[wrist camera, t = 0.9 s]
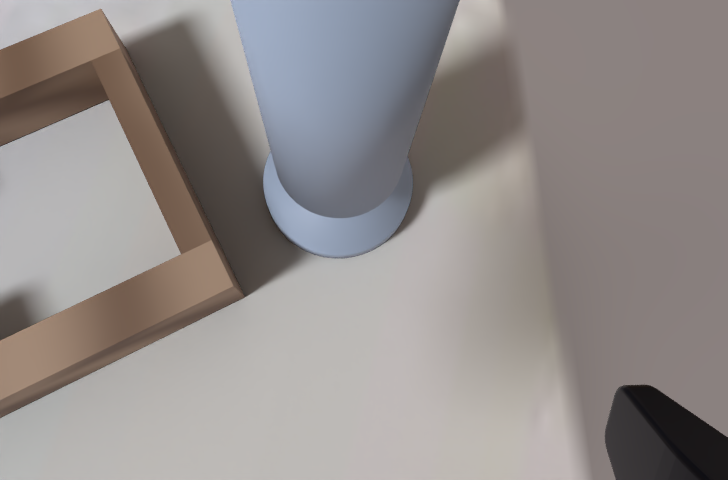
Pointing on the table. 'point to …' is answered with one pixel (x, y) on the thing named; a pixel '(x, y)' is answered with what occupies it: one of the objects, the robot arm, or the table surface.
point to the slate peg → (341, 111)
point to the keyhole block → (169, 186)
